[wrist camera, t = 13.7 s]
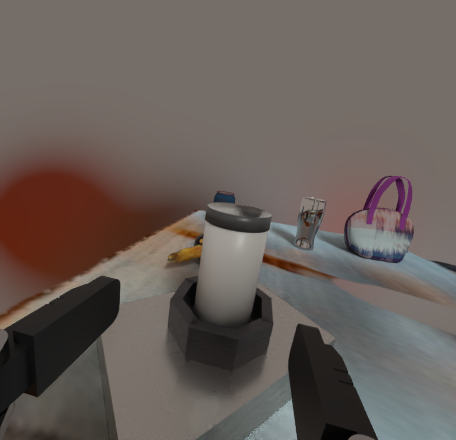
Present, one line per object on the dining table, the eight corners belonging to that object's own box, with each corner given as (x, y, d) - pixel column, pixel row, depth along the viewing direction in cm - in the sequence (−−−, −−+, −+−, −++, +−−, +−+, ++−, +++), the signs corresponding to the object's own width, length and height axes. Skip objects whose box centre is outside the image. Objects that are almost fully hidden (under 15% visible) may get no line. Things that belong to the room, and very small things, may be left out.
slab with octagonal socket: (243, 297, 33) (251, 256, 32) (325, 368, 23) (343, 313, 21) (96, 343, 22) (97, 282, 20) (123, 540, 11) (129, 443, 9)
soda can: (226, 224, 76) (231, 191, 73) (233, 230, 70) (239, 195, 67) (207, 223, 73) (212, 189, 71) (214, 230, 67) (219, 193, 65)
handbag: (392, 254, 72) (419, 181, 66) (417, 267, 62) (450, 182, 57) (331, 244, 72) (352, 170, 66) (346, 255, 62) (372, 170, 57)
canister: (226, 302, 25) (243, 203, 22) (259, 335, 21) (286, 217, 18) (182, 315, 22) (195, 201, 19) (210, 359, 17) (233, 218, 14)
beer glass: (287, 241, 67) (298, 195, 64) (306, 243, 68) (318, 198, 65) (298, 250, 60) (311, 199, 57) (319, 252, 62) (333, 202, 58)
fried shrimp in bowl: (265, 244, 46) (227, 232, 31) (234, 280, 48) (183, 286, 33) (237, 219, 51) (193, 197, 35) (210, 253, 53) (156, 247, 37)
